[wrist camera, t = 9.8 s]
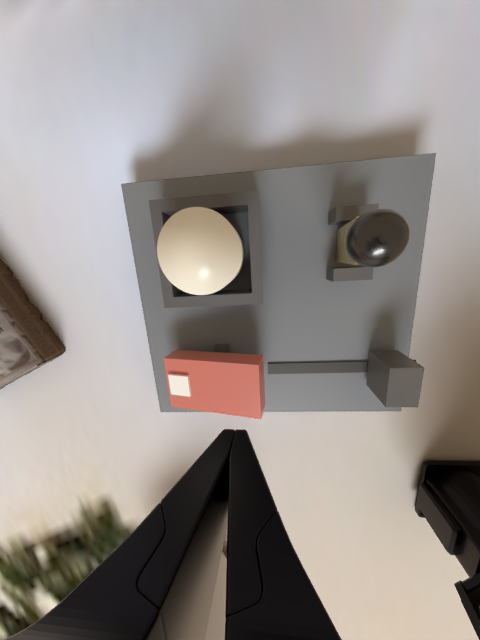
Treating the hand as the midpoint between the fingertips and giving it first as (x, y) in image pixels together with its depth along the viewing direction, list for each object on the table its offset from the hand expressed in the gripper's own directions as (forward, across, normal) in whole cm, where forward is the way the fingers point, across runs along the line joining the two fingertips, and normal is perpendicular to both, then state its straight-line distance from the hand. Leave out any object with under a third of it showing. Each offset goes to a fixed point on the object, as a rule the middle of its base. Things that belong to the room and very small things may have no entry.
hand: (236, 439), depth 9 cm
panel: (+12, -2, -3) cm, 12 cm away
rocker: (+9, +2, +2) cm, 9 cm away
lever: (+10, -7, -7) cm, 14 cm away
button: (+9, +2, -7) cm, 12 cm away
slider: (+10, -10, +2) cm, 14 cm away
